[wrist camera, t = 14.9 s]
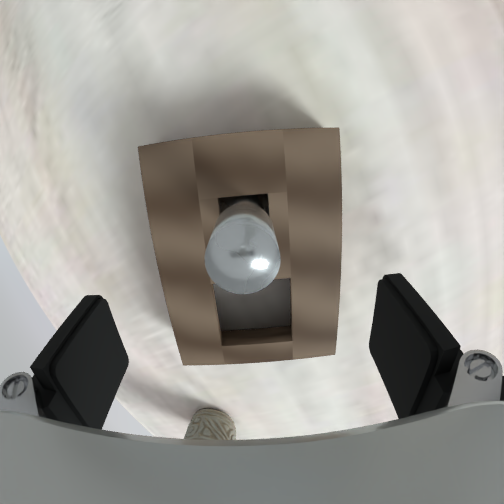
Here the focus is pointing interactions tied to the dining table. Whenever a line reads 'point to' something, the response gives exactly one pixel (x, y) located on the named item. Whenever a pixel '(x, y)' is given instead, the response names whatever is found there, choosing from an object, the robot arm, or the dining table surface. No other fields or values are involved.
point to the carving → (211, 426)
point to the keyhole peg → (243, 245)
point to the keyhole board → (285, 227)
